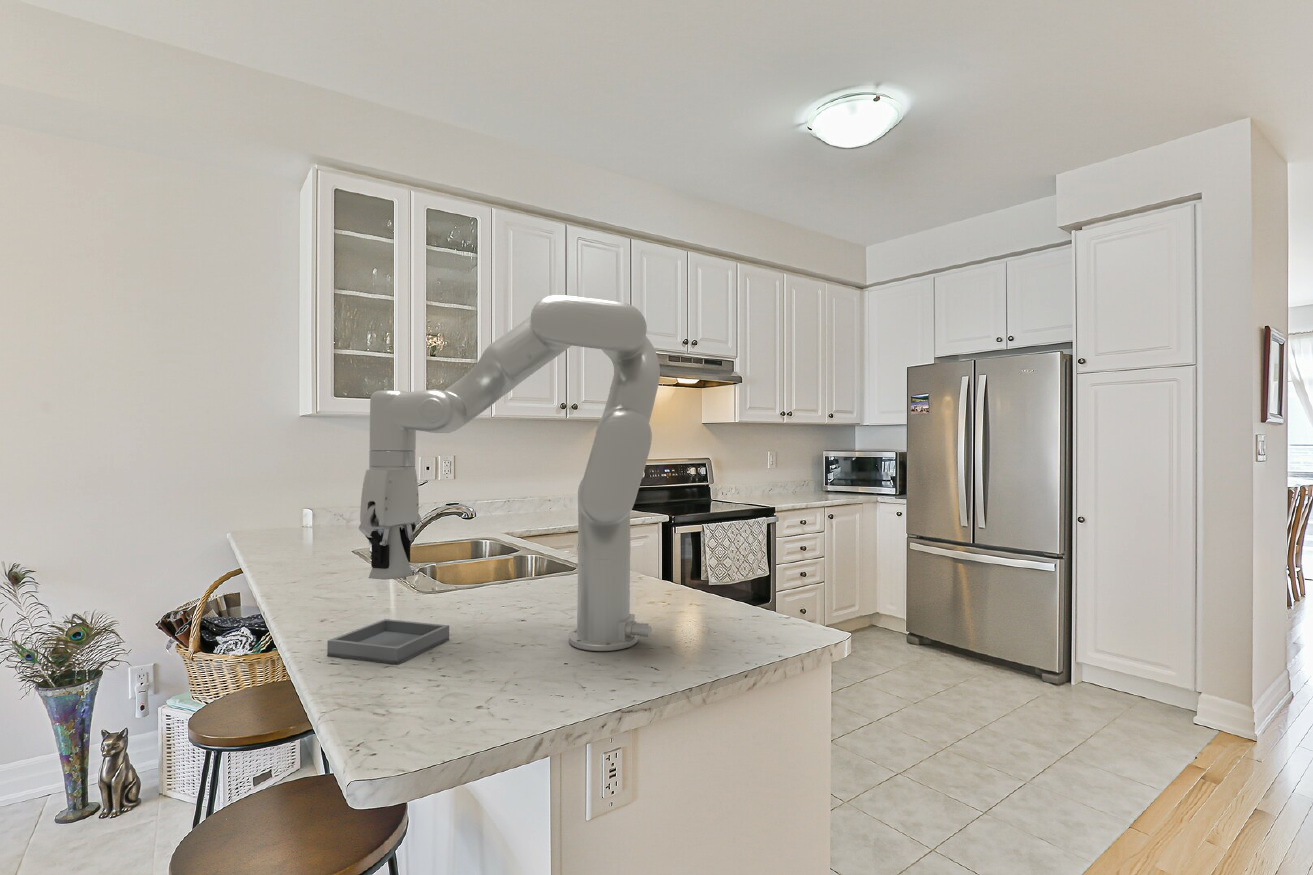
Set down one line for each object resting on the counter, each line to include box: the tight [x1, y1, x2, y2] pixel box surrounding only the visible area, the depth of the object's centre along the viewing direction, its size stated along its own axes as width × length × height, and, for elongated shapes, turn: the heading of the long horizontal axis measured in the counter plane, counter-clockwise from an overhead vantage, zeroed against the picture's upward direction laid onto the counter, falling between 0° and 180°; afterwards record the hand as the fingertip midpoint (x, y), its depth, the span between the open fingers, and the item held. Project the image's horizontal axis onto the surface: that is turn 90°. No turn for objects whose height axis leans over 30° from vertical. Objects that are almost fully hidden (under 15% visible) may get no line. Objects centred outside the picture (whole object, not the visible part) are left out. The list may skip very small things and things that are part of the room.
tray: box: [326, 618, 450, 666], centre depth 113 cm, size 14×14×3 cm
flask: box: [368, 526, 413, 580], centre depth 114 cm, size 7×7×10 cm
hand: (391, 564), depth 114 cm, fingers closed on flask, 4 cm apart
